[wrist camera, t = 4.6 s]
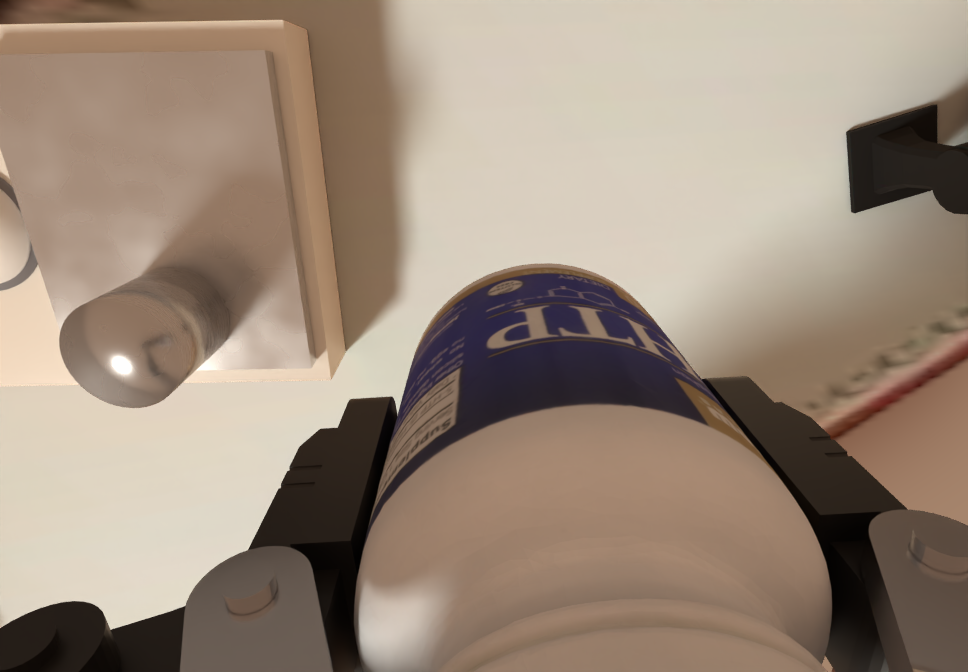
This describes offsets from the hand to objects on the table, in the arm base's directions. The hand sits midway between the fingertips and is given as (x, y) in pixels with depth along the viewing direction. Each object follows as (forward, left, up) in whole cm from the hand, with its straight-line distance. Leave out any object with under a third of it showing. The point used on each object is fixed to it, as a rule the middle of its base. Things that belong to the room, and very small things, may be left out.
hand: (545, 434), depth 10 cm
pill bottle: (0, 0, -2) cm, 2 cm away
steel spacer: (+7, +12, -13) cm, 19 cm away
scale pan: (+9, +9, -14) cm, 19 cm away
